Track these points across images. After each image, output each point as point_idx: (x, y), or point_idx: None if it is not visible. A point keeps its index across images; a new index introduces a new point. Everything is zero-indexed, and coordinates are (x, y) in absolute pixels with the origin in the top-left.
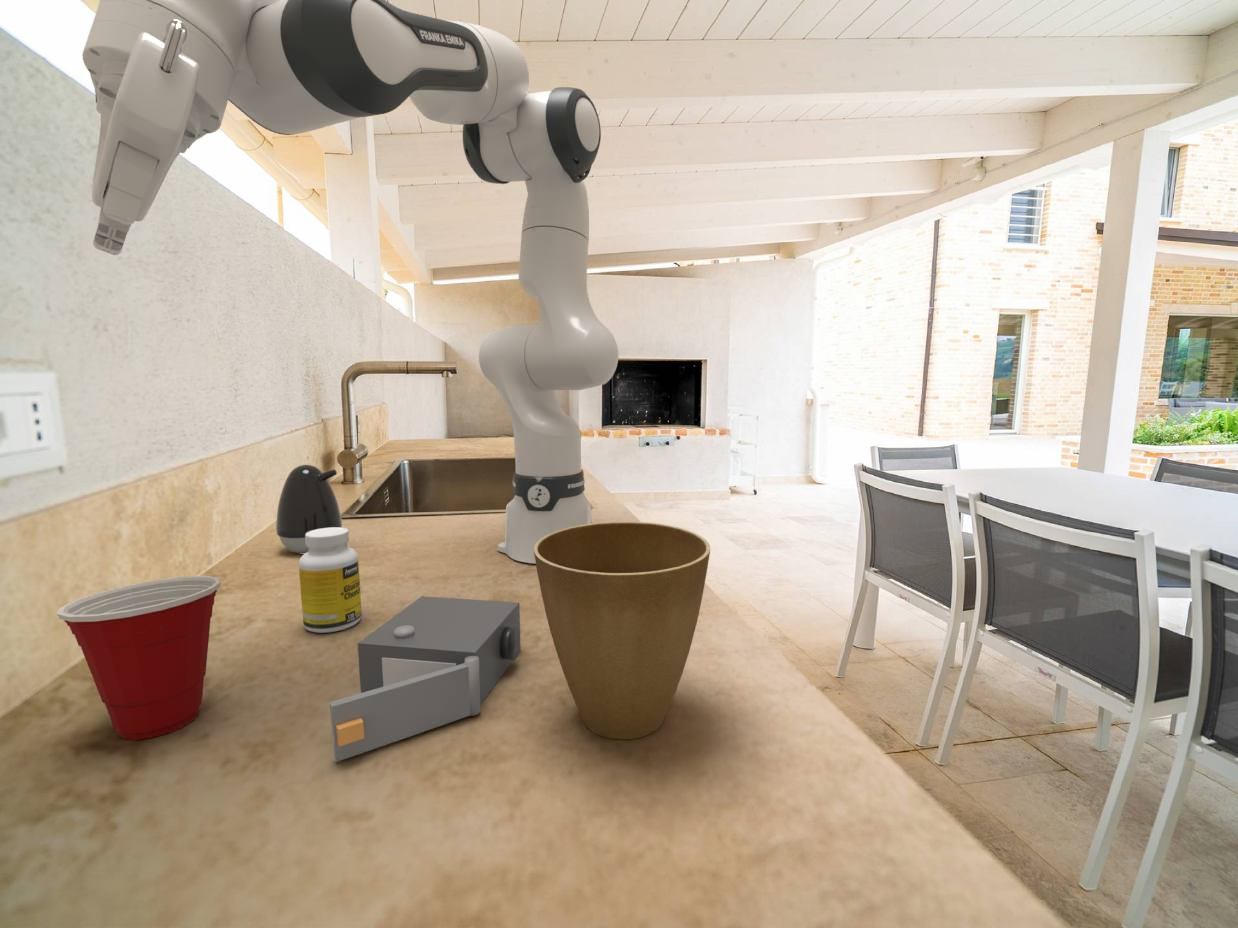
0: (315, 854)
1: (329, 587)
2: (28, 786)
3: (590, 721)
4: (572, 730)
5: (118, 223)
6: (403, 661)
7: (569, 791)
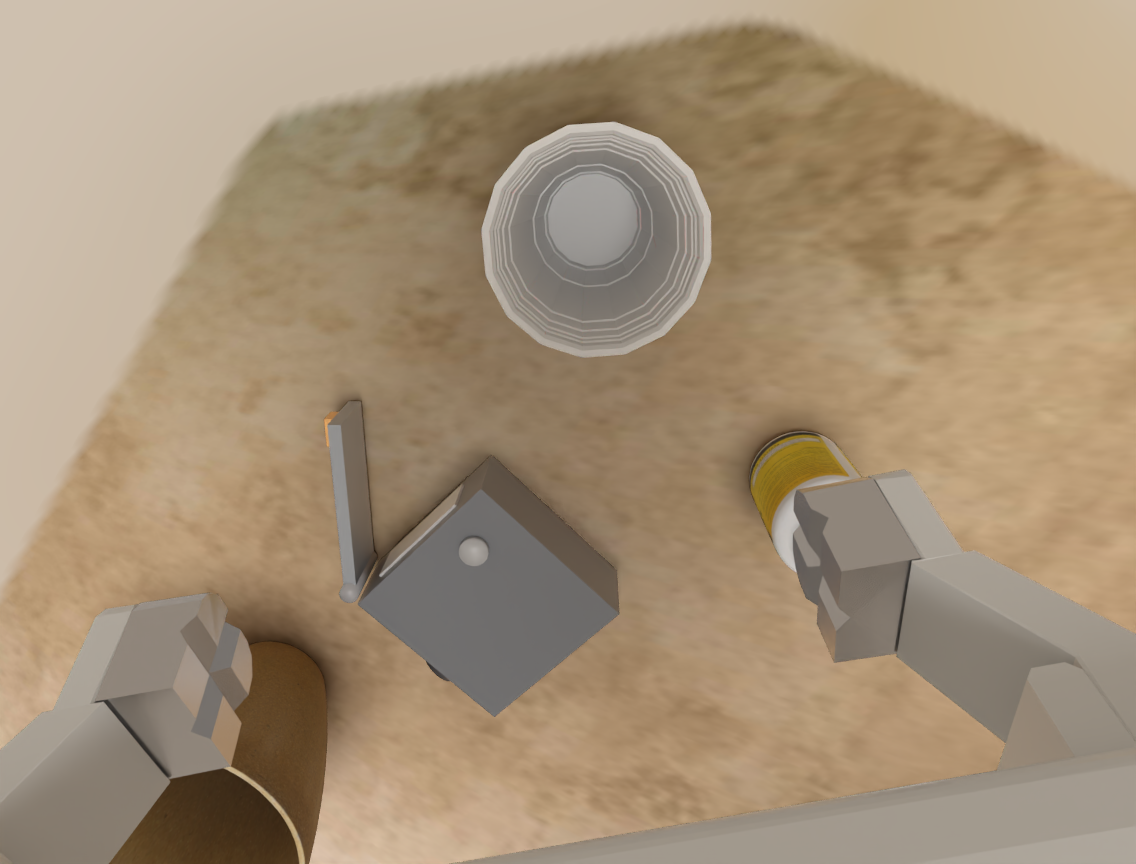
0: (214, 357)
1: (766, 501)
2: (508, 85)
3: (250, 646)
4: (278, 626)
5: (981, 676)
6: (431, 525)
7: (184, 575)
